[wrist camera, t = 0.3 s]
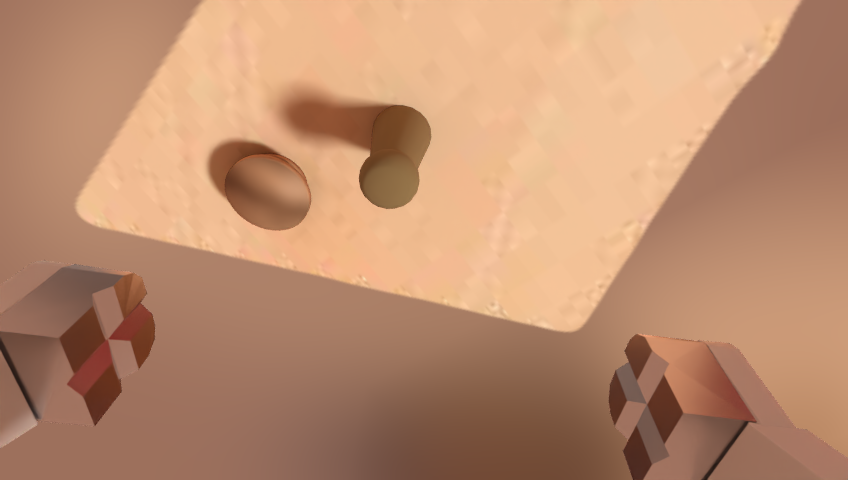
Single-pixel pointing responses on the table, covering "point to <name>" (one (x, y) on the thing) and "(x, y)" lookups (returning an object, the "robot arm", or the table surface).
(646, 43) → the table surface
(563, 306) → the table surface
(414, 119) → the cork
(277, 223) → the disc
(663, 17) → the table surface
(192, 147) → the table surface
